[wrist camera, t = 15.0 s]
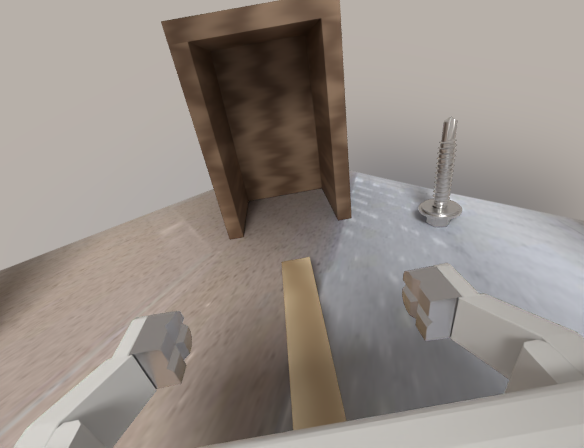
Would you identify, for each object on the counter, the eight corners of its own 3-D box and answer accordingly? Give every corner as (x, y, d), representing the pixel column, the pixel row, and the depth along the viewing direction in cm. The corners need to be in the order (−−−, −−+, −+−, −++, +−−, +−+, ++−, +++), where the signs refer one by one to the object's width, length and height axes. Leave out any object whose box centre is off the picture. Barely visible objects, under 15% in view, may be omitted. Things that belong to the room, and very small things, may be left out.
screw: (411, 226, 35) (425, 210, 38) (453, 236, 32) (464, 218, 35) (419, 122, 29) (434, 112, 32) (471, 121, 26) (483, 111, 29)
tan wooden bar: (326, 760, 9) (316, 770, 8) (286, 283, 30) (281, 261, 29) (414, 747, 9) (421, 754, 8) (313, 278, 30) (309, 257, 29)
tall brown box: (229, 239, 40) (160, 21, 27) (238, 198, 53) (195, 38, 40) (351, 218, 40) (339, -11, 27) (330, 182, 53) (315, 17, 40)
